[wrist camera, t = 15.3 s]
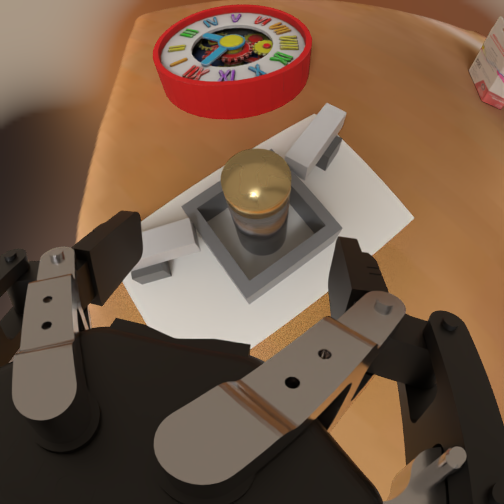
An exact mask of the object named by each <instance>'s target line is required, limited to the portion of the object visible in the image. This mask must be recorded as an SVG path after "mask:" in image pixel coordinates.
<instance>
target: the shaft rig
mask: <svg viewBox="0 0 504 504" xmlns="http://www.w3.org/2000/svg"><path fill="white" fill-rule="evenodd" d="M345 117H346V112H344V111H342V110H340V109H339V108H337V107H335V106H333V105H330V104H328V103H326V104H325V106H324V107H323V108H322V109H321V111H320V112H319V113H318V114H317V115H316V114H313V115H311V116H309V117H307V118H305V119H303V120H302V121H300V122H298V123H296V124H294V125H292V126H291V127H289V128H287V129H285V130H283V131H282V132H280V133H278V134H276V135H275V136H273V137H271V138H269V139H268V140H266V141H264V142H263V143H261V144H259V145H257V146H256V147H254V148H252V149H255V148H259V149H266V150H270V151H273V152H275V153H277V154H278V155H280V156H281V157H282V158H283V159H284V160H285V161H286V163H287V164H288V166H289V168H290V171H291V190H290V202H289V213H288V223H287V234H286V239H285V242H284V244H283V245H282V247H281V248H280V249H279V250H278V251H276V252H274V253H273V254H270V255H265V256H259V255H254V254H252V253H250V252H248V251H247V250H246V249H245V248H244V247H243V246H242V245H241V243H240V240H239V237H238V234H237V231H236V229H235V226H234V223H233V220H232V217H231V214H230V211H229V208H228V205H227V202H226V199H225V196H224V193H223V190H222V187H221V173H222V170H223V168H224V166H223V167H221V168H220V169H218V170H217V171H215V172H213V173H212V174H210V175H209V176H207V177H206V178H204V179H203V180H201V181H200V182H198V183H197V184H195V185H193V186H192V187H190V188H189V189H187V190H186V191H184V192H183V193H181V194H180V195H179V196H177V197H176V198H174V199H173V200H171V201H170V202H168V203H167V204H165V205H164V206H163V207H161V208H160V209H158V210H157V211H155V212H154V213H153V214H151V215H150V216H148V217H147V218H146V219H144V220H143V221H141V230H142V240H143V254H142V257H141V259H140V261H139V262H138V263H137V264H136V266H135V267H134V268H133V269H132V270H131V271H130V273H129V274H128V275H127V276H126V277H125V279H124V280H123V281H122V282H123V284H124V285H125V287H126V289H127V291H128V293H129V294H130V296H131V298H132V300H133V302H134V303H135V305H136V307H137V309H138V310H139V312H140V314H141V315H142V317H143V319H144V321H145V322H146V324H147V326H149V327H151V328H153V329H155V330H157V331H160V332H162V333H164V334H166V335H169V336H171V337H173V338H178V339H220V340H226V341H232V342H238V343H245V344H251V346H250V349H251V348H253V347H254V346H256V345H257V344H259V343H260V342H261V341H263V340H264V339H266V338H267V337H268V336H270V335H271V334H272V333H274V332H275V331H277V330H278V329H279V328H281V327H282V326H283V325H285V324H286V323H287V322H289V321H290V320H291V319H293V318H294V317H295V316H297V315H298V314H299V313H301V312H302V311H303V310H305V309H306V308H307V307H309V306H310V305H311V304H313V303H314V302H315V301H316V300H318V299H319V298H320V297H322V296H323V295H324V294H325V293H327V292H328V277H329V271H330V267H331V262H332V258H333V253H334V249H335V244H336V240H337V237H338V236H341V237H348V238H355V239H357V240H358V243H359V245H360V248H361V251H362V252H366V253H369V254H370V255H371V256H372V255H373V254H374V253H375V252H377V251H378V250H379V249H380V248H381V247H382V246H384V245H385V244H386V243H387V242H388V241H389V240H391V239H392V238H393V237H394V236H395V235H396V234H397V233H398V232H400V231H401V230H402V229H403V228H404V227H405V226H406V225H407V224H409V223H410V222H411V221H412V220H413V219H414V217H413V216H412V214H411V213H410V212H409V211H408V210H407V208H406V207H405V206H404V205H403V204H402V202H401V201H400V200H399V199H398V198H397V197H396V196H395V194H394V193H393V192H392V191H391V190H390V189H389V188H388V186H387V185H386V184H385V183H384V182H383V181H382V180H381V179H380V178H379V177H378V175H377V174H376V173H375V172H374V171H373V170H372V169H371V168H370V167H369V166H368V165H367V164H366V163H365V162H364V161H363V160H362V159H361V158H360V157H359V156H358V155H357V153H356V152H355V151H354V150H353V149H352V148H351V147H350V146H349V145H348V144H347V143H345V142H344V141H343V140H342V138H341V137H339V136H338V135H337V134H338V132H339V131H340V129H341V128H342V127H343V123H344V120H345Z"/></svg>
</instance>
